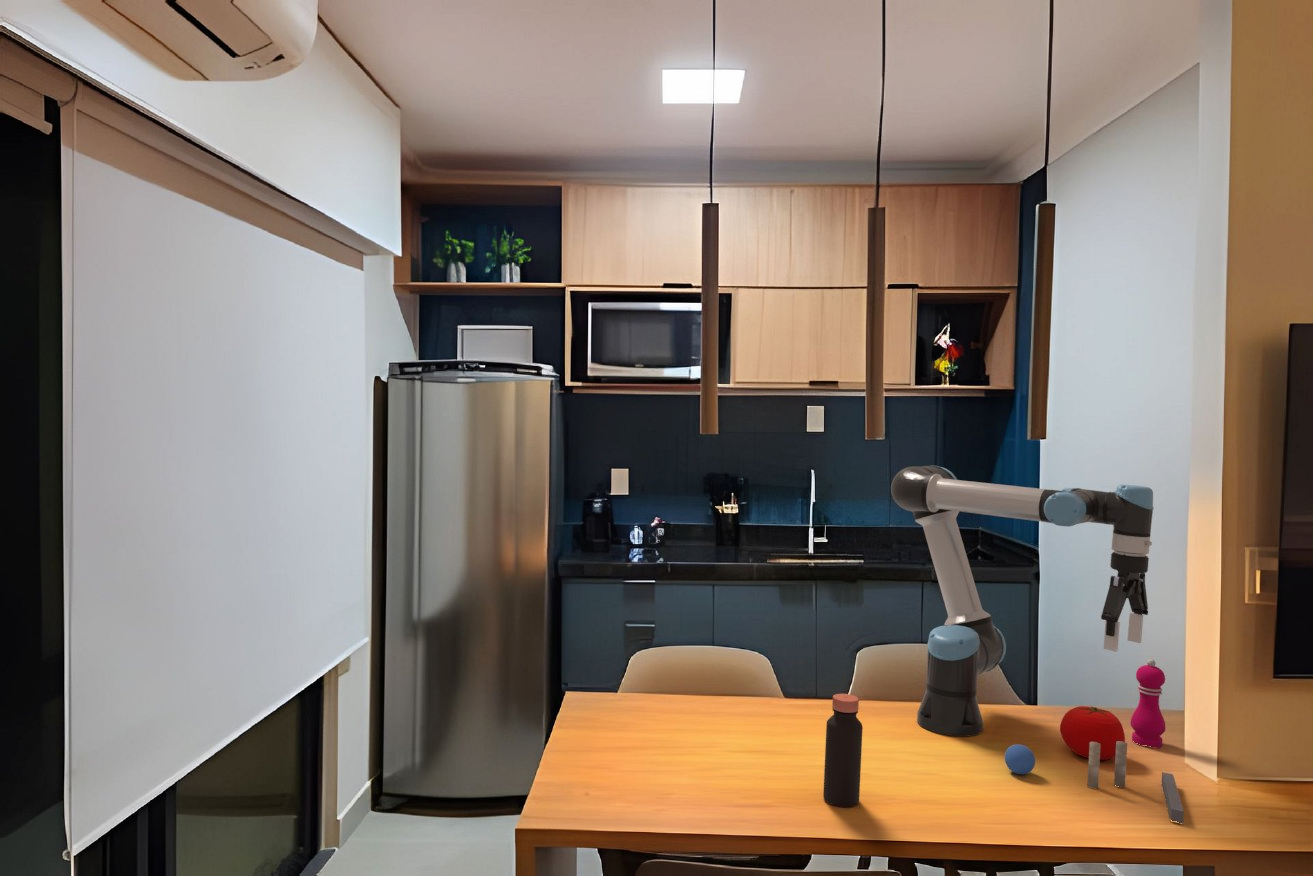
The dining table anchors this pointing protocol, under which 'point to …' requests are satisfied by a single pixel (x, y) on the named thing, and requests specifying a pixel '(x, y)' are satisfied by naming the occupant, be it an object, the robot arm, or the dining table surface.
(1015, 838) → the dining table surface
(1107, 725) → the tomato
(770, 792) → the dining table surface
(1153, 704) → the pepper mill
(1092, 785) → the pin
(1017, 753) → the ball
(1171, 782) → the grey square rod
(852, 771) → the bottle
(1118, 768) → the pin
